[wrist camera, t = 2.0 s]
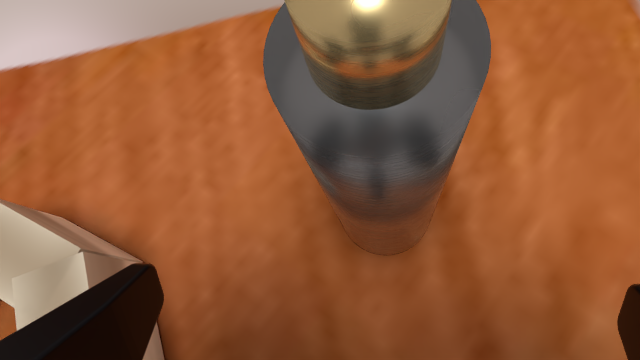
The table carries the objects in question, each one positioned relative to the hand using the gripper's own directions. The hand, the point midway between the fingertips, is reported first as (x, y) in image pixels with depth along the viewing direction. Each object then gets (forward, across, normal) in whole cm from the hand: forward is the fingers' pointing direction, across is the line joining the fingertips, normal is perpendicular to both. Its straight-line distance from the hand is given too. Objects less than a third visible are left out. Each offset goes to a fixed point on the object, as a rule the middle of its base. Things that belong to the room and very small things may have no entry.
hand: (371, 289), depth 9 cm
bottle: (+11, 0, +5) cm, 12 cm away
